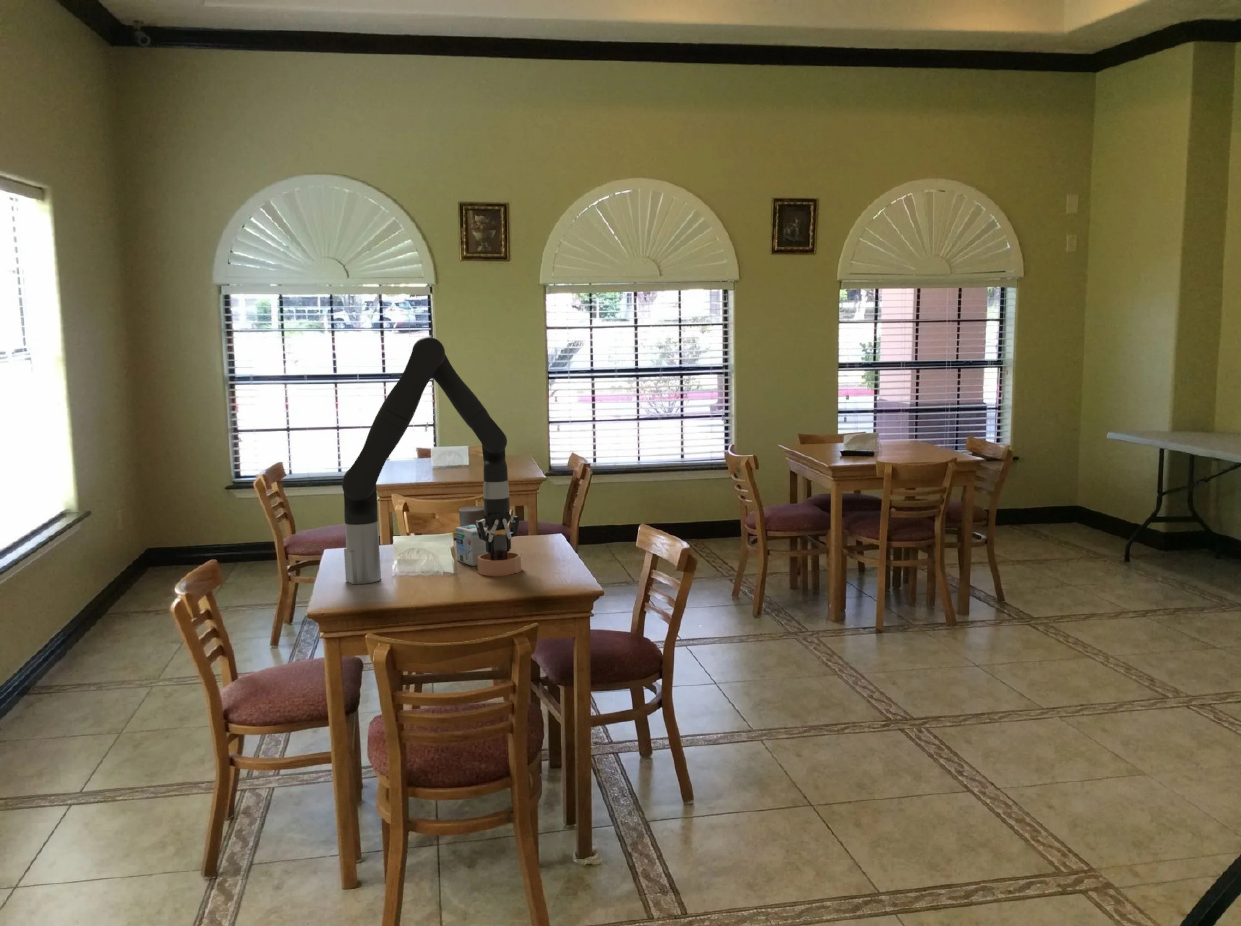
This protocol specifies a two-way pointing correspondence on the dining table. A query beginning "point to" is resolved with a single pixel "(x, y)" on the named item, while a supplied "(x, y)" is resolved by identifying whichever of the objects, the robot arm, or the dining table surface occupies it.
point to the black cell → (499, 545)
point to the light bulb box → (469, 544)
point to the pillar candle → (471, 515)
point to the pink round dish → (499, 565)
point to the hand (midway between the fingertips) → (498, 552)
